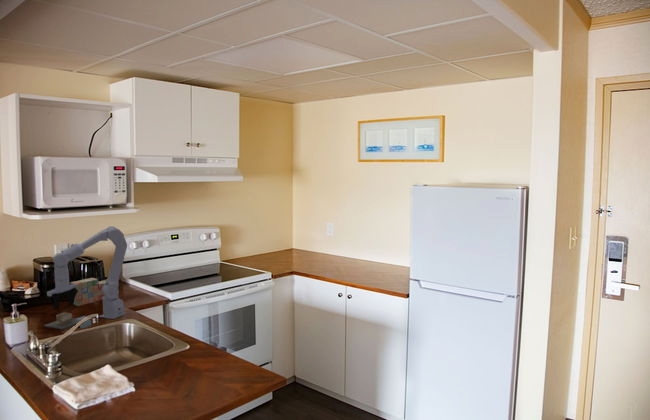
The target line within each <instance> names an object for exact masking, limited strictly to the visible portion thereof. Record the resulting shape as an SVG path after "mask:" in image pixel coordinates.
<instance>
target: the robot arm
mask: <svg viewBox="0 0 650 420" xmlns="http://www.w3.org/2000/svg"><path fill="white" fill-rule="evenodd" d="M124 235H125V234H124V233H123V232H122V231H121V229H119V228H117V227H115V226H108V227H107V228H104V229H101V230H100V231H98V232H97V233H95V234H93V236H91V237H89V238H88V239H86V240H85V241H83V242H81V243H72V244H70V247H68V248H66V249H64V250H63V249H62V250H61V251H60V252H58V253H55V255H53V258H52V261H53V264H54V267H53V268H54V270H53V271H54V283H55V285H54V286H55V288H53V289H50V290H49V291H46V296H47V298H48V299H49V301H50V302H51V304H52V306H53V310H54V311H58V310H59V309H60V304H59V303H60V297H61V296H60V295H58V294H62V293H65V292H66V294H67V295H66V296H67V300H68V305H69V306H74V305H73V304H74V299H75V296H76V294H77V292H78V290H77V288H78V284H73V285H70V274H69V268H68V267H69V265H68V264H69V262H71V261H73V260H75V259H76V258H78V257H80V256H82V255H83V254H84V252H85V250H86V249H88V248H90V247H91V246H93V245H96V244H98V243H99V242H107V241H111V242H112V244H113V245H114V246H115V248H114V253H113V255H112V256H113V257H112V260H111V264H110V268H109V271H108V276H107V278H106V282H105V284H104V286H103V287H102V293H103V294H104V296H103V298H102V299H103V300H102V314H101V315H99V316H98V317H99V318H103V319H104V318H105V319H111V320H115V319H117V318H120V317H122V316H125V315H126V314H127V313H125V302H124V300H123V299H121V298H120V296H119V292H120V291H119V283H120V282H119V279H120V274H121V271H122V268H123V264H124V260H125V257H126V256H125V255H126V252H127V248H128V244H127V243H128V242H127V241H126V239H125V236H124Z"/></svg>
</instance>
